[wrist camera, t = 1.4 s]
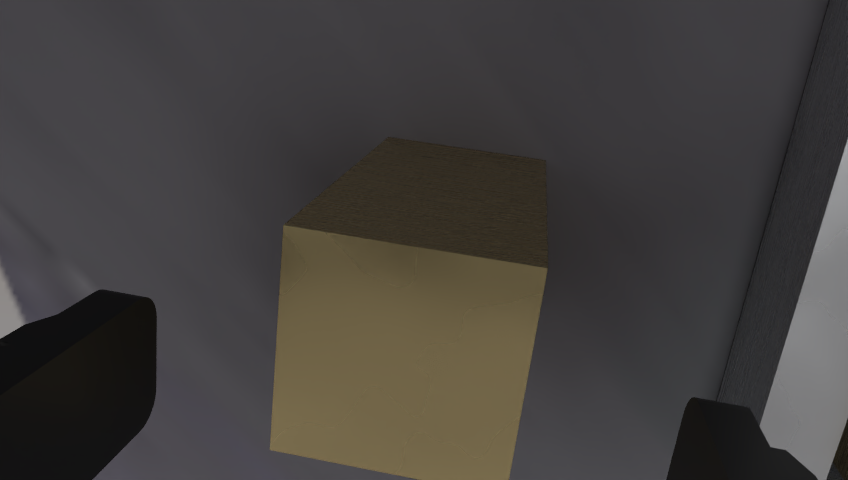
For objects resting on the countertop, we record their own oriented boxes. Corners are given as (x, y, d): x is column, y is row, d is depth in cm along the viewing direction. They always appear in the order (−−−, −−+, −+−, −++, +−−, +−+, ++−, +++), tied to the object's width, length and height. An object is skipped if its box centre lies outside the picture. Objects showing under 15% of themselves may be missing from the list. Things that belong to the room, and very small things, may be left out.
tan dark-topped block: (388, 136, 19) (283, 225, 11) (545, 160, 18) (547, 268, 11) (373, 282, 20) (269, 449, 12) (519, 306, 19) (505, 496, 12)
